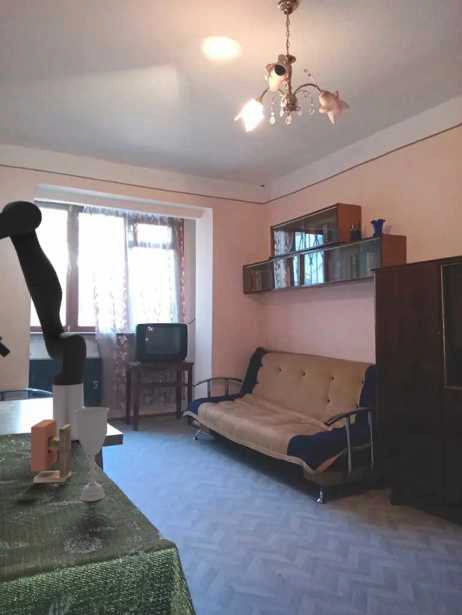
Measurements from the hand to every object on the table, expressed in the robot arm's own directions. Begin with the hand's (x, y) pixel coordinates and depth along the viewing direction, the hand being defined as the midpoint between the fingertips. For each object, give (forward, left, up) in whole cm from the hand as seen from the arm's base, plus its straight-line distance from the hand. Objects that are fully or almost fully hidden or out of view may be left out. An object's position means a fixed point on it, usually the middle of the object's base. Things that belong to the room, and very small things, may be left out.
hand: (0, 355), depth 116 cm
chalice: (+20, +28, -29) cm, 45 cm away
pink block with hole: (+8, +14, -25) cm, 30 cm away
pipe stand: (+8, +16, -28) cm, 33 cm away
